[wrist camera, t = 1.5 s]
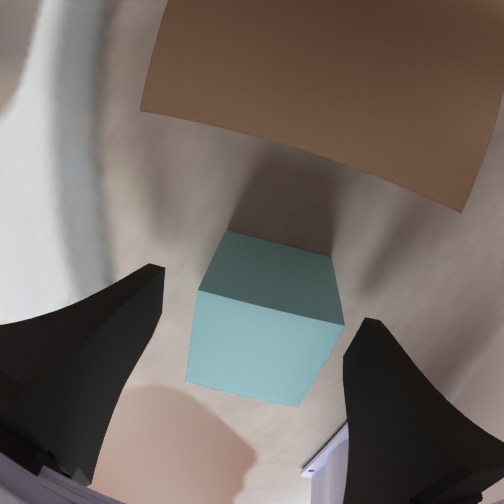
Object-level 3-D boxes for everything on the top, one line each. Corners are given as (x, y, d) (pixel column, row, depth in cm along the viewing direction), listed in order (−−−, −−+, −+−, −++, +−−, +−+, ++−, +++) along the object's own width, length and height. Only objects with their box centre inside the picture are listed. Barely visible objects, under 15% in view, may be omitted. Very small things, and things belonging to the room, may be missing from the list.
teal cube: (298, 333, 13) (298, 407, 10) (210, 311, 13) (185, 381, 10) (330, 256, 12) (344, 325, 8) (226, 229, 12) (198, 290, 8)
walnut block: (409, 174, 10) (461, 213, 6) (191, 105, 10) (139, 110, 6) (460, -7, 6) (517, -34, 3) (251, -79, 6) (232, -138, 3)
